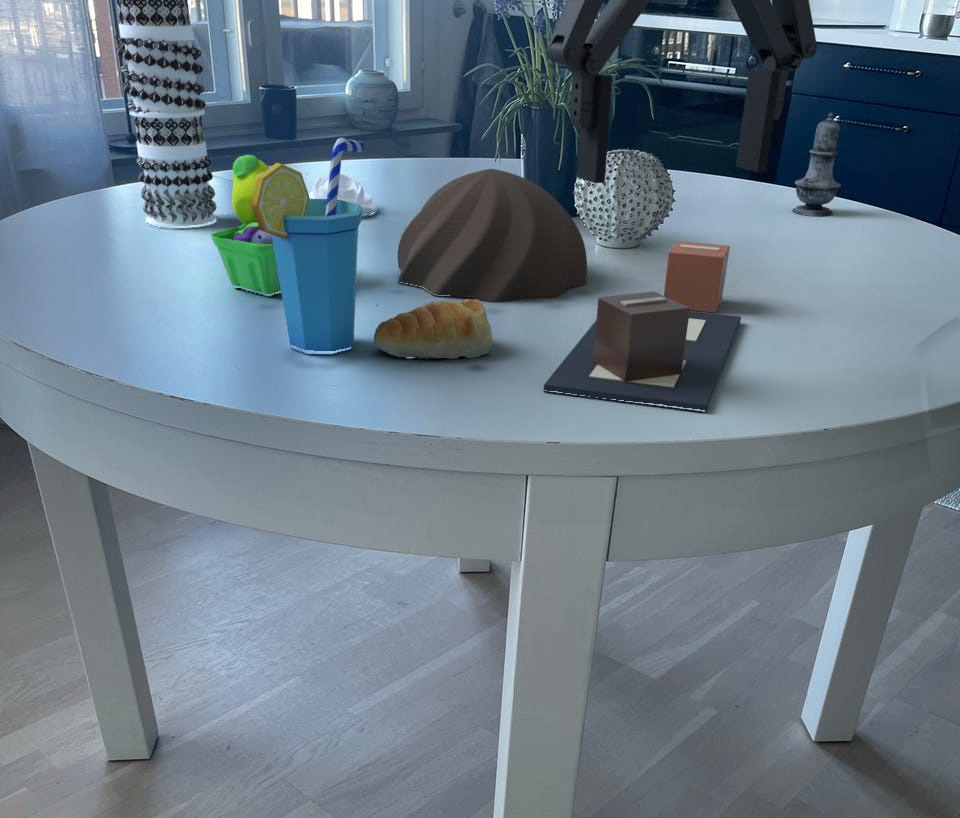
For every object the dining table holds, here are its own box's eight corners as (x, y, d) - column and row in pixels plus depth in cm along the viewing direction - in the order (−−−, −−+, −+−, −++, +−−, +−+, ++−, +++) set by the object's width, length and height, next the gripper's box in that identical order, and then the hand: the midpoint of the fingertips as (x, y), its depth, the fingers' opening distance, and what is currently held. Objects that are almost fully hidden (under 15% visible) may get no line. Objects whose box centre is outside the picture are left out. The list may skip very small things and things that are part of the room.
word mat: (705, 413, 72) (706, 403, 72) (543, 392, 75) (543, 383, 75) (740, 323, 92) (741, 315, 91) (609, 309, 95) (610, 301, 94)
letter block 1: (681, 374, 77) (690, 305, 74) (625, 382, 76) (632, 312, 73) (647, 354, 81) (654, 289, 78) (592, 361, 79) (598, 294, 77)
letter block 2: (721, 299, 98) (730, 243, 95) (715, 313, 94) (724, 255, 91) (670, 294, 99) (677, 239, 97) (662, 307, 95) (668, 250, 93)
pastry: (387, 368, 79) (386, 318, 77) (364, 343, 84) (362, 296, 82) (498, 356, 82) (500, 308, 80) (469, 333, 87) (469, 288, 85)
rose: (331, 165, 133) (392, 172, 129) (333, 201, 135) (393, 210, 131) (282, 175, 126) (345, 183, 122) (285, 213, 128) (347, 223, 124)
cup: (328, 315, 91) (317, 129, 83) (406, 326, 89) (403, 136, 80) (241, 360, 80) (218, 151, 72) (327, 374, 78) (313, 160, 70)
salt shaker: (822, 218, 133) (842, 115, 126) (781, 211, 136) (799, 111, 129) (842, 212, 136) (863, 112, 130) (803, 206, 139) (820, 108, 133)
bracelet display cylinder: (126, 225, 120) (85, -27, 107) (169, 211, 128) (137, -26, 114) (193, 232, 118) (161, -24, 104) (234, 217, 125) (208, -24, 112)
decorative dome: (373, 259, 109) (369, 157, 103) (544, 249, 115) (549, 151, 109) (424, 307, 94) (423, 190, 88) (618, 292, 99) (629, 182, 94)
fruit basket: (267, 303, 94) (255, 170, 88) (204, 286, 98) (188, 158, 92) (352, 279, 102) (346, 156, 95) (290, 265, 106) (281, 146, 100)
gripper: (835, -184, 69) (781, 158, 81) (502, -210, 61) (495, 175, 72) (915, -197, 63) (844, 173, 75) (559, -228, 55) (542, 194, 67)
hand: (673, 175), depth 74 cm, fingers open, 13 cm apart
